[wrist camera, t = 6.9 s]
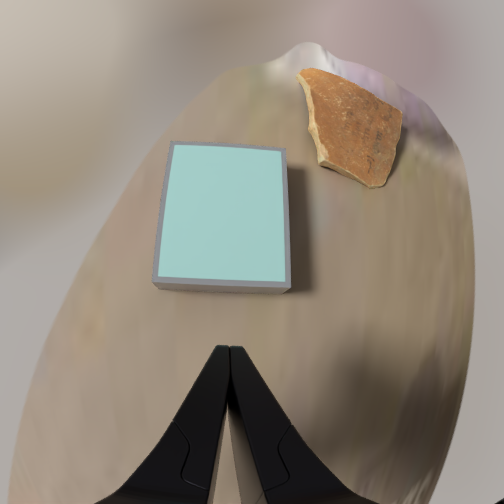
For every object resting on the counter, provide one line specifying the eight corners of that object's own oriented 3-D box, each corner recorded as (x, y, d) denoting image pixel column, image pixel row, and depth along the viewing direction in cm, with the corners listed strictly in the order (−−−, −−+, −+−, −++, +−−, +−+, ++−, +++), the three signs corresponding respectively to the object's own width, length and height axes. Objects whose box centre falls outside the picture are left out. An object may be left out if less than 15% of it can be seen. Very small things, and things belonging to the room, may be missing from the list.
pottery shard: (298, 72, 24) (304, 52, 21) (390, 109, 24) (401, 92, 22) (269, 155, 20) (276, 133, 18) (387, 199, 21) (405, 183, 18)
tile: (291, 287, 15) (285, 148, 18) (151, 281, 14) (170, 140, 17) (280, 295, 18) (277, 169, 20) (159, 290, 17) (174, 163, 19)
